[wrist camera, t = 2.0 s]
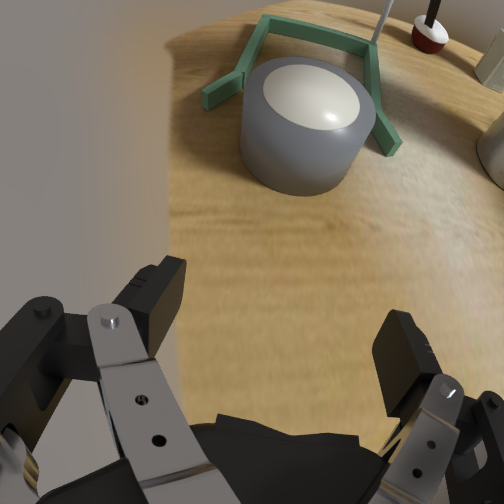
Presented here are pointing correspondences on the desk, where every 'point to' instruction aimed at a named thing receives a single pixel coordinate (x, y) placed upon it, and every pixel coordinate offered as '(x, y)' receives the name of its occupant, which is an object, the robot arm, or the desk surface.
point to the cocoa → (429, 30)
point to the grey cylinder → (303, 124)
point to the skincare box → (492, 65)
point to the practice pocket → (320, 35)
